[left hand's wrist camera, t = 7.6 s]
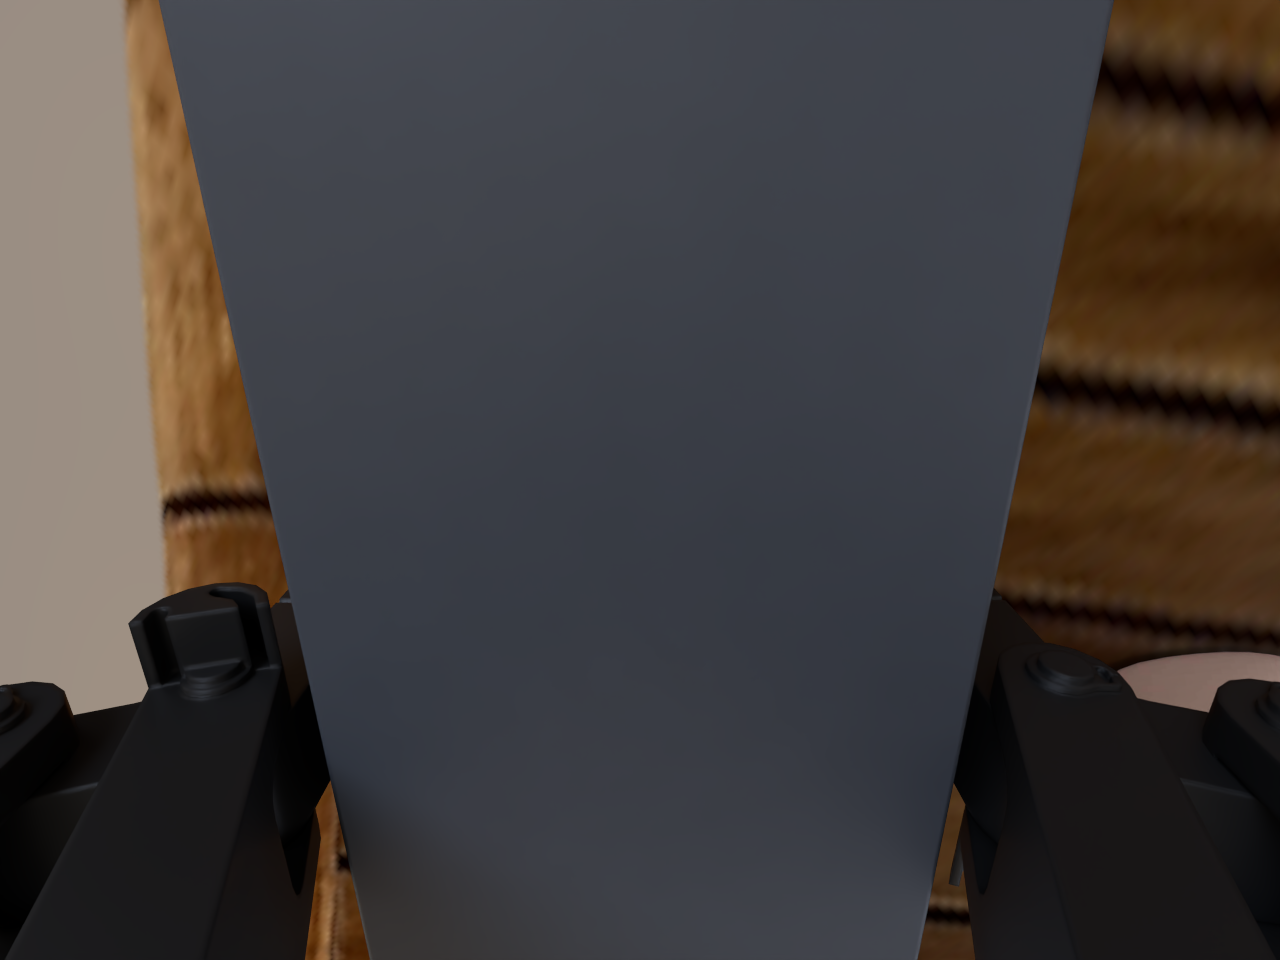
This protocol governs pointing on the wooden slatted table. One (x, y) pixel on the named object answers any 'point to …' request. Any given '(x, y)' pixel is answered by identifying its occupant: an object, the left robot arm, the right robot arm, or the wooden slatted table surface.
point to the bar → (639, 436)
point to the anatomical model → (1196, 676)
